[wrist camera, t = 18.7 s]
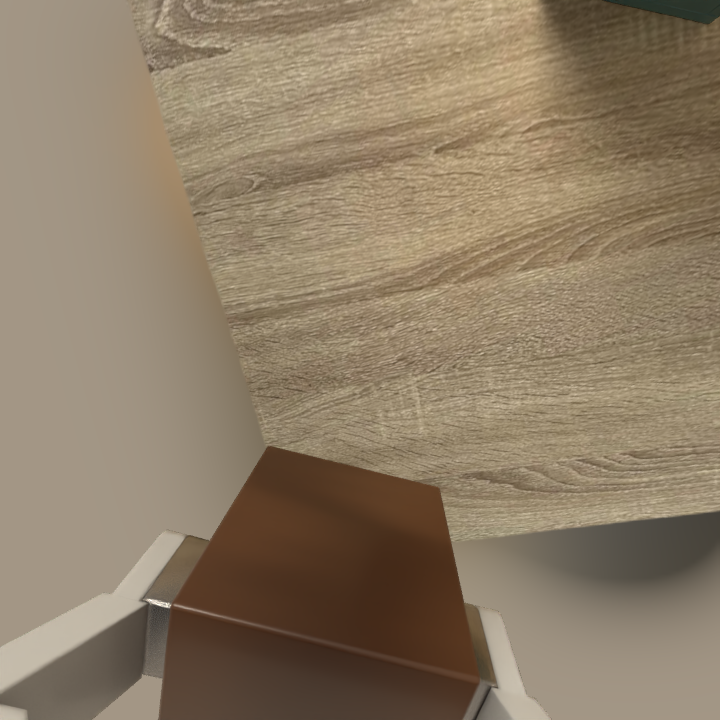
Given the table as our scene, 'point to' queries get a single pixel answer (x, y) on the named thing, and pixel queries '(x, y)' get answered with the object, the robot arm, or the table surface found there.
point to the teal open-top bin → (679, 8)
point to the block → (322, 603)
